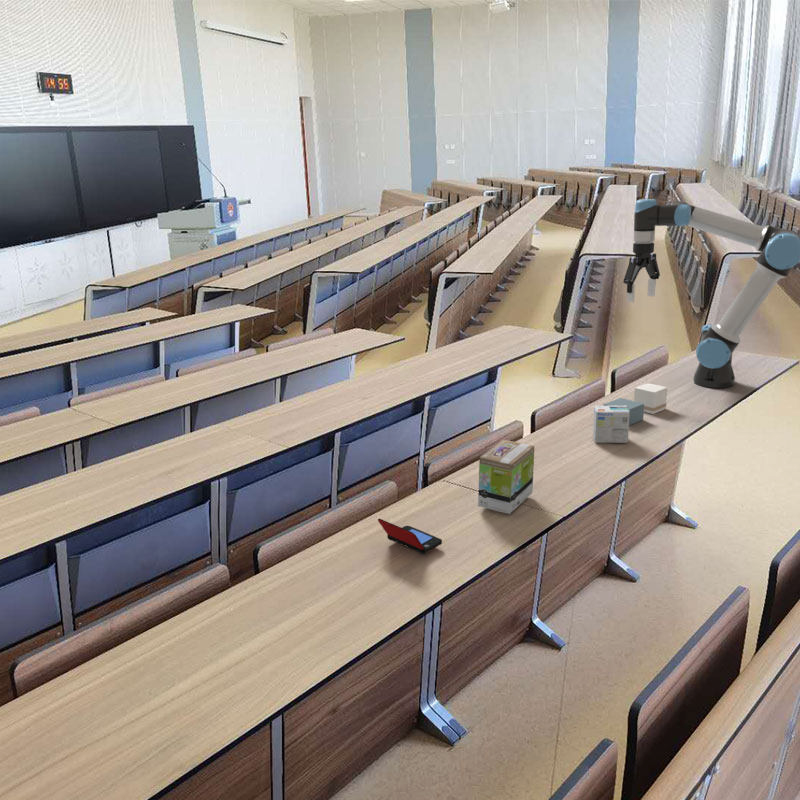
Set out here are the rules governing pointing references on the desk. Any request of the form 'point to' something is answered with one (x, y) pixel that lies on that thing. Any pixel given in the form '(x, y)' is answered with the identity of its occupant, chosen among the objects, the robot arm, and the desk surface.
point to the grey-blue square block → (630, 409)
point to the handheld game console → (410, 537)
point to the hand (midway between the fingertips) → (640, 298)
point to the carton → (651, 397)
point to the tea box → (505, 476)
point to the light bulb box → (611, 424)
